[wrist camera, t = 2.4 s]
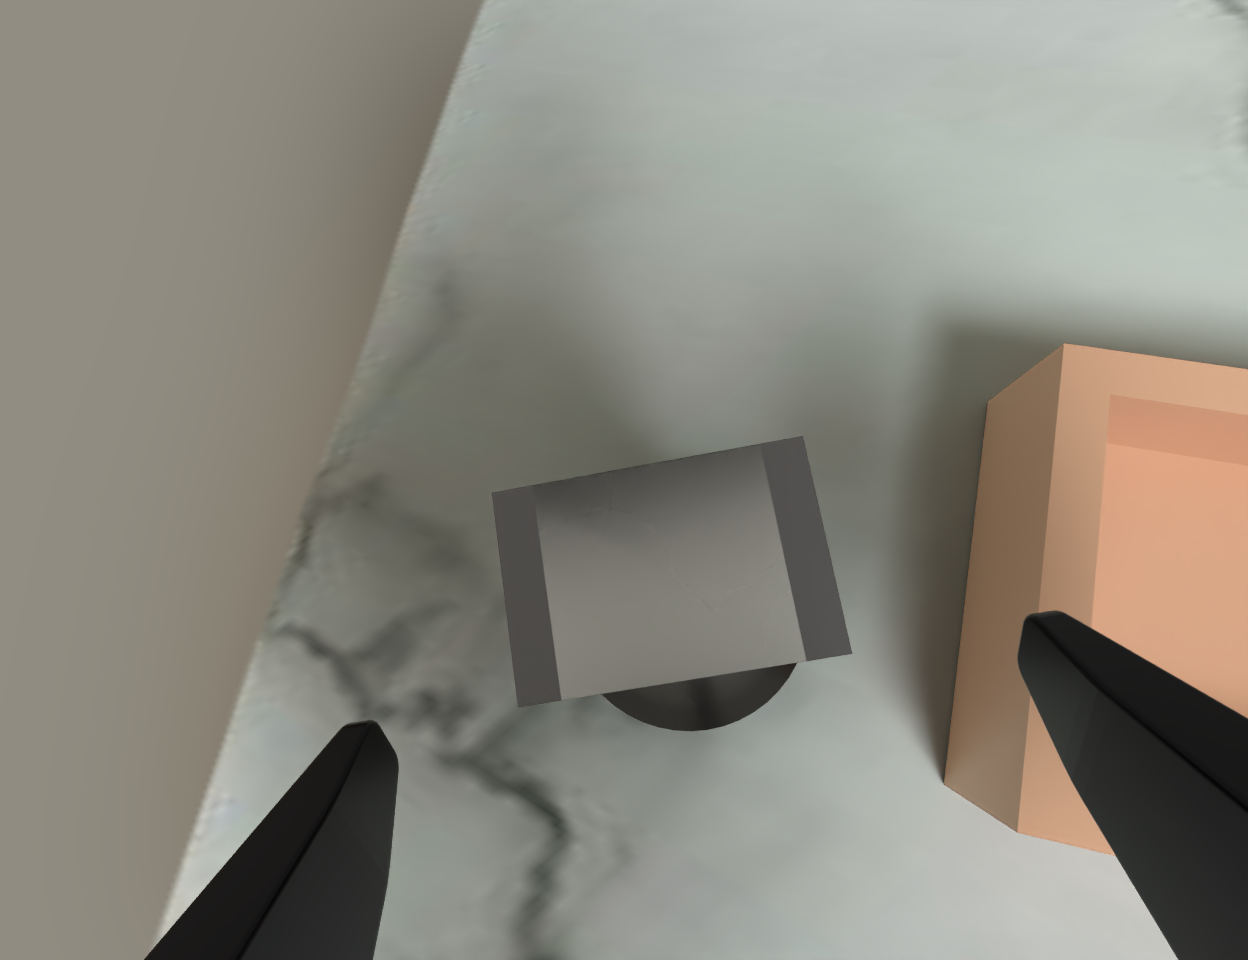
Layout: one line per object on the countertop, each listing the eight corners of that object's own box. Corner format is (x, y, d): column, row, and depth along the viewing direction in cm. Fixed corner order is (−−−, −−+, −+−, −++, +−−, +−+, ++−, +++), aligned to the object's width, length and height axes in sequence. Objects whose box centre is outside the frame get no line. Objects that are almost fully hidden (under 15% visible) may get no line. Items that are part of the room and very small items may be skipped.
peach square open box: (1404, 891, 16) (1641, 981, 12) (943, 784, 17) (1017, 832, 13) (1404, 466, 17) (1609, 420, 13) (987, 401, 19) (1063, 343, 15)
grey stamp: (822, 702, 18) (1099, 879, 5) (593, 738, 18) (376, 976, 6) (774, 477, 19) (911, 215, 7) (561, 515, 19) (329, 332, 7)
